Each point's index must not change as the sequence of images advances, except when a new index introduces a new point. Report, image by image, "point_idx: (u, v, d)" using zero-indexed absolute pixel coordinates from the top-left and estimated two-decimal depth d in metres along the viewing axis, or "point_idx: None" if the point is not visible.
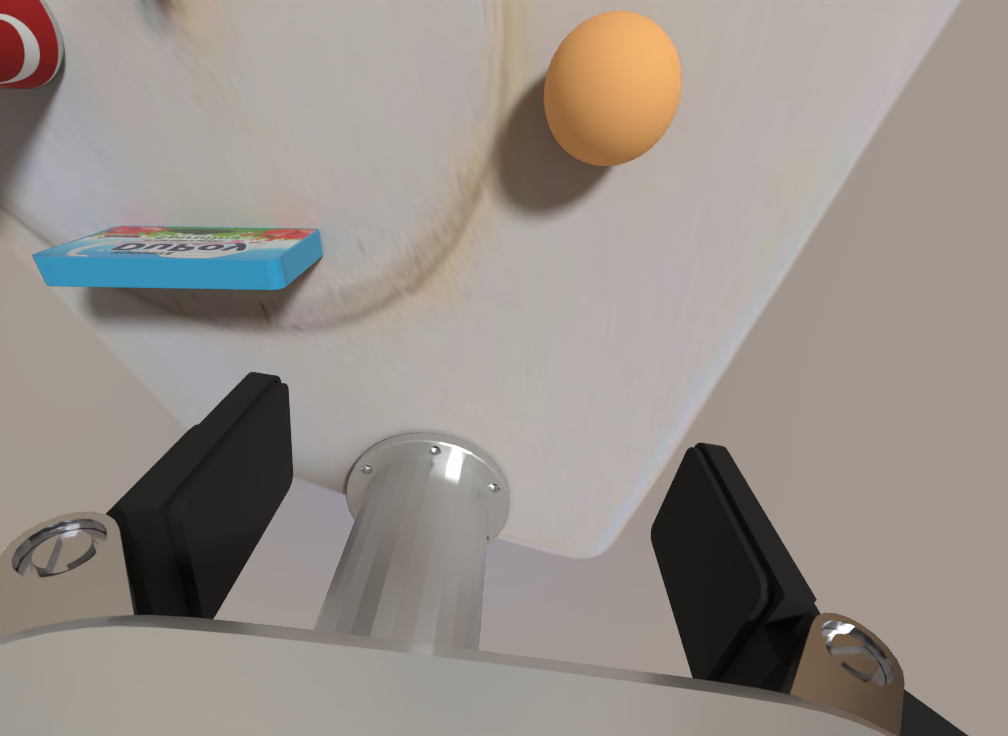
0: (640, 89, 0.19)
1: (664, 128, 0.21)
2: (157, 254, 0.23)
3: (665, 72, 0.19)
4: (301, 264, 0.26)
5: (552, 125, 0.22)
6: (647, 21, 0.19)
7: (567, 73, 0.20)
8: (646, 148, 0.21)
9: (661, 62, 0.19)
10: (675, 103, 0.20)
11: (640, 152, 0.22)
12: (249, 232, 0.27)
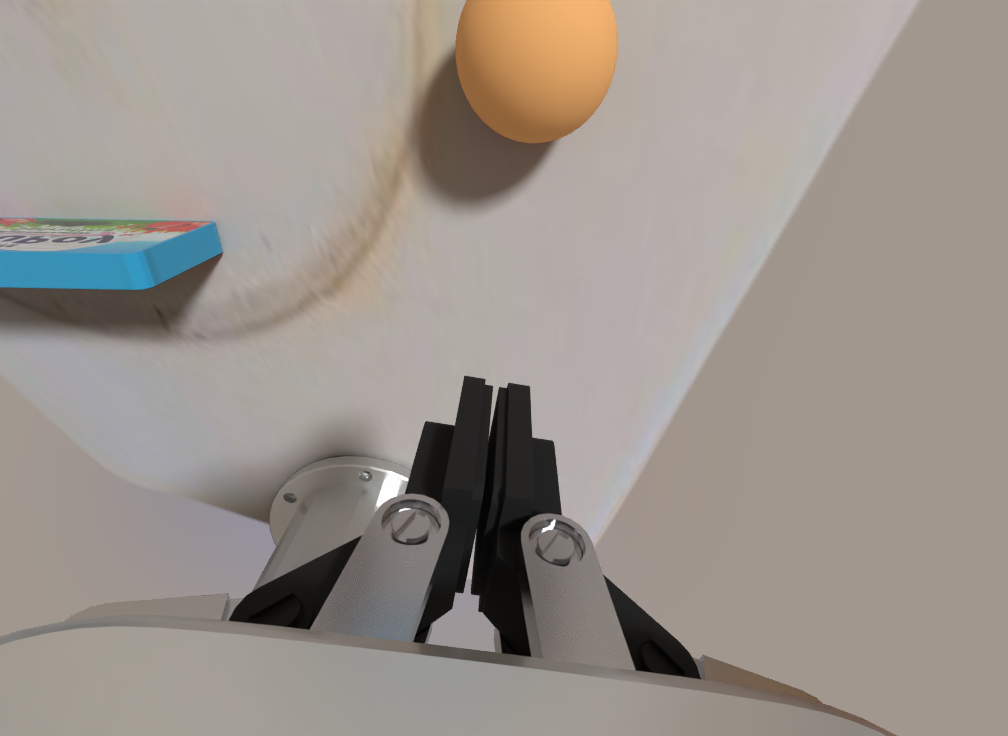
0: (561, 40, 0.15)
1: (598, 94, 0.17)
2: None
3: (592, 21, 0.16)
4: (183, 260, 0.22)
5: (465, 91, 0.18)
6: None
7: (473, 23, 0.16)
8: (578, 119, 0.18)
9: (586, 8, 0.15)
10: (609, 62, 0.17)
11: (571, 124, 0.18)
12: (130, 224, 0.23)
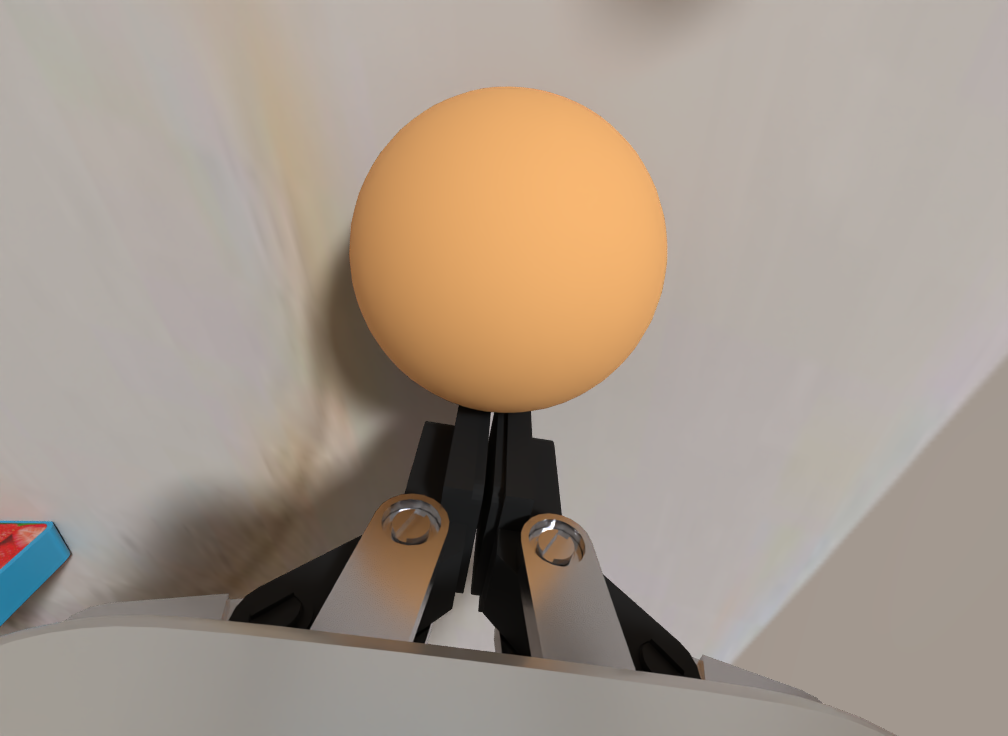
0: (579, 131, 0.07)
1: (657, 272, 0.08)
2: None
3: (625, 140, 0.08)
4: None
5: (362, 285, 0.08)
6: None
7: (389, 146, 0.08)
8: (627, 316, 0.08)
9: (610, 125, 0.08)
10: None
11: (614, 325, 0.08)
12: None
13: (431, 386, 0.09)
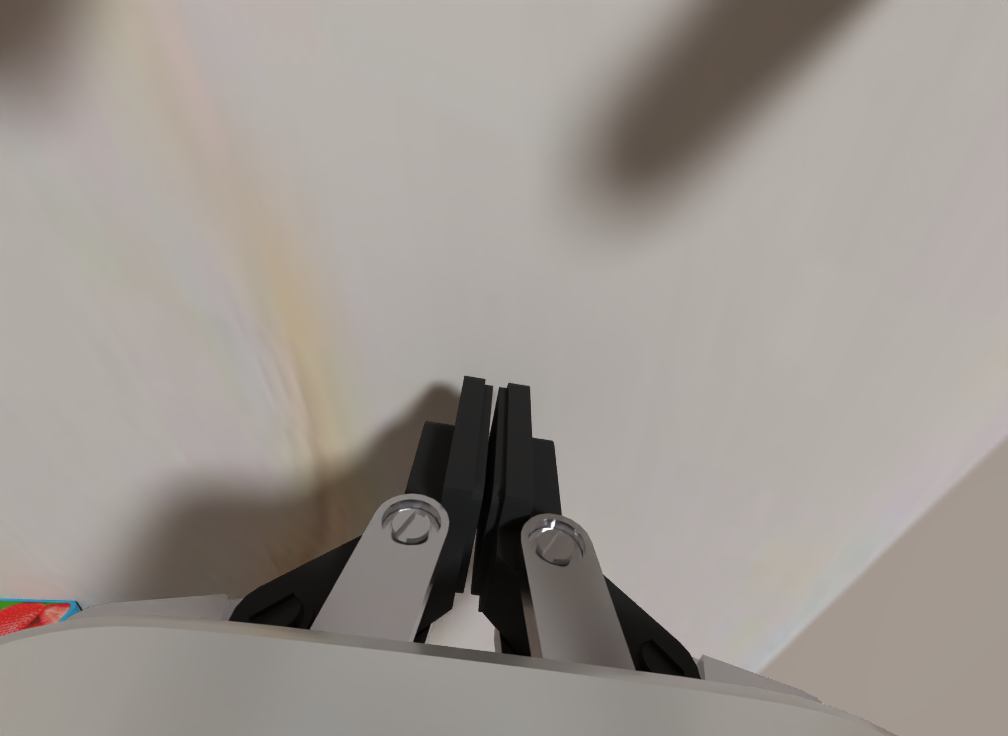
0: None
1: None
2: None
3: None
4: None
5: None
6: None
7: None
8: None
9: None
10: None
11: None
12: None
13: None
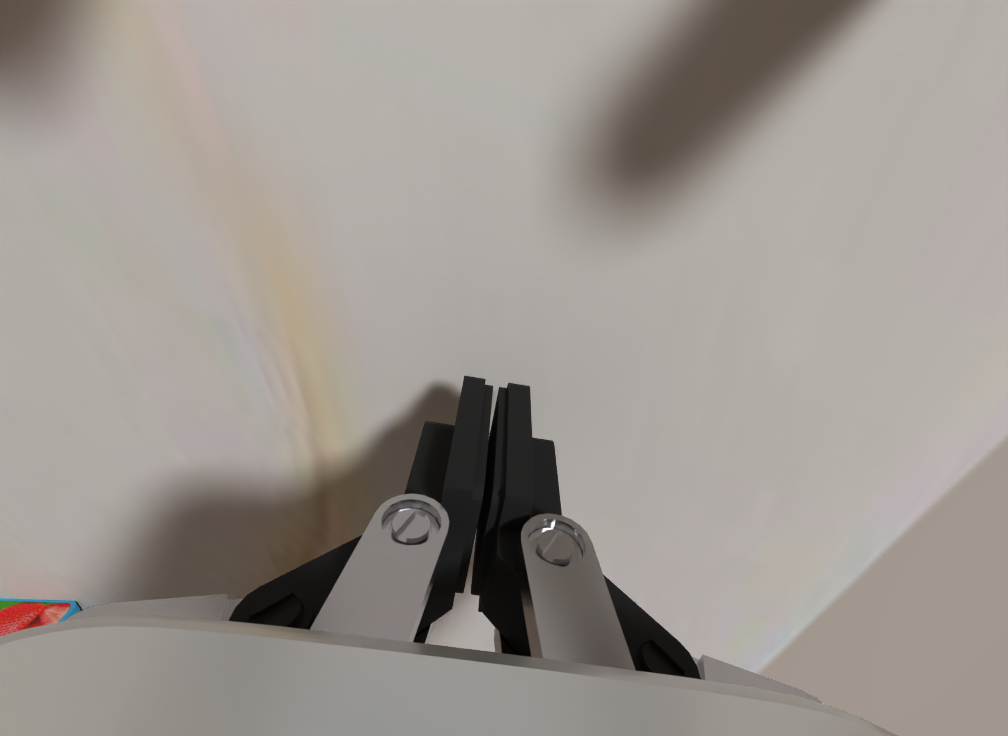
0: None
1: None
2: None
3: None
4: None
5: None
6: None
7: None
8: None
9: None
10: None
11: None
12: None
13: None
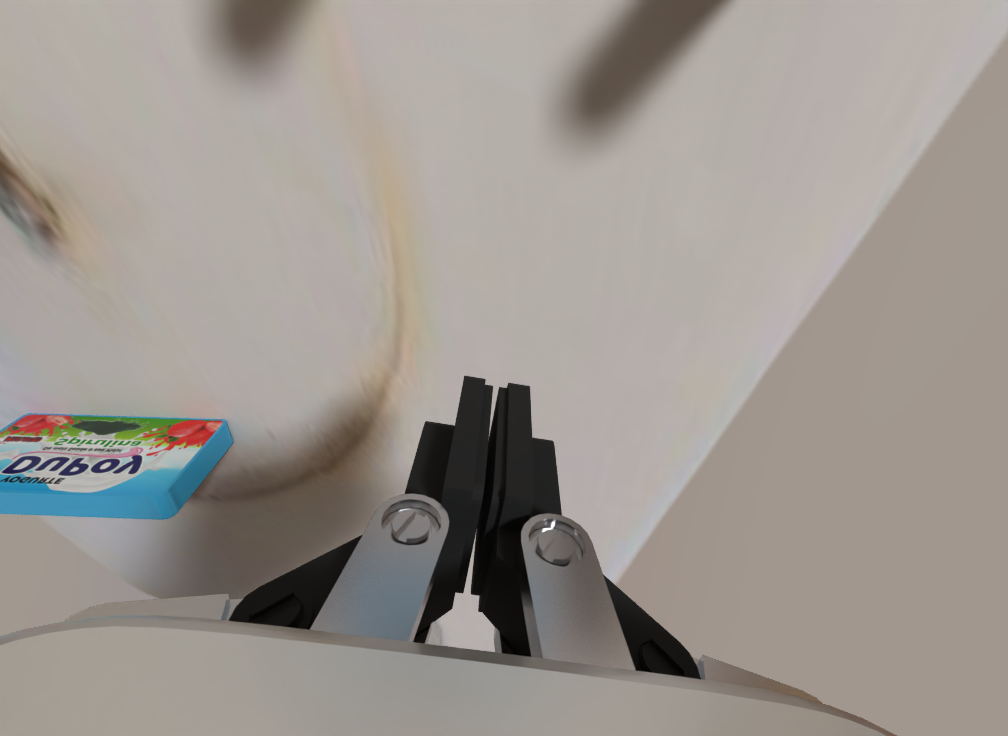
0: None
1: None
2: (46, 483, 0.23)
3: None
4: (200, 474, 0.25)
5: None
6: None
7: None
8: None
9: None
10: None
11: None
12: (154, 429, 0.27)
13: None
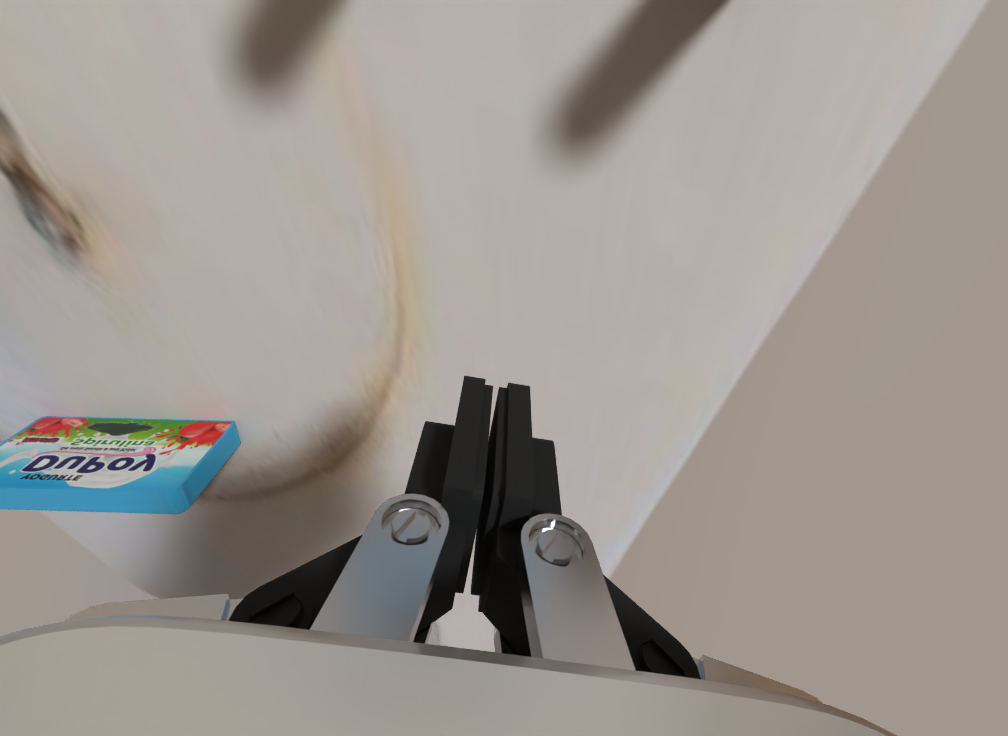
0: None
1: None
2: (65, 480, 0.25)
3: None
4: (210, 472, 0.27)
5: None
6: None
7: None
8: None
9: None
10: None
11: None
12: (165, 430, 0.28)
13: None
